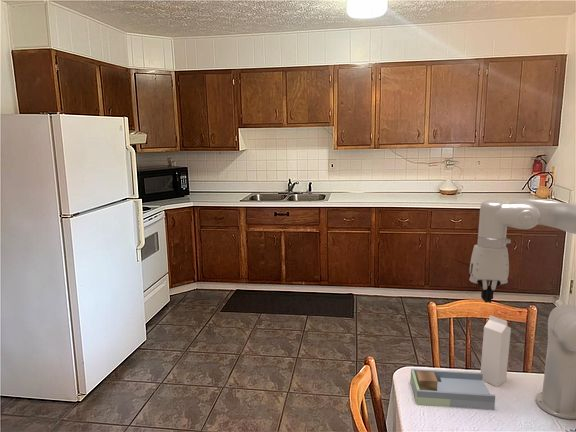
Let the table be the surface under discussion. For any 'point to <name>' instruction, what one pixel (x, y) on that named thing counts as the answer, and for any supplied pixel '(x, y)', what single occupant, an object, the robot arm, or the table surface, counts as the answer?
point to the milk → (495, 351)
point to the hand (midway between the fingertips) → (486, 300)
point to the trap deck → (454, 390)
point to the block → (426, 380)
